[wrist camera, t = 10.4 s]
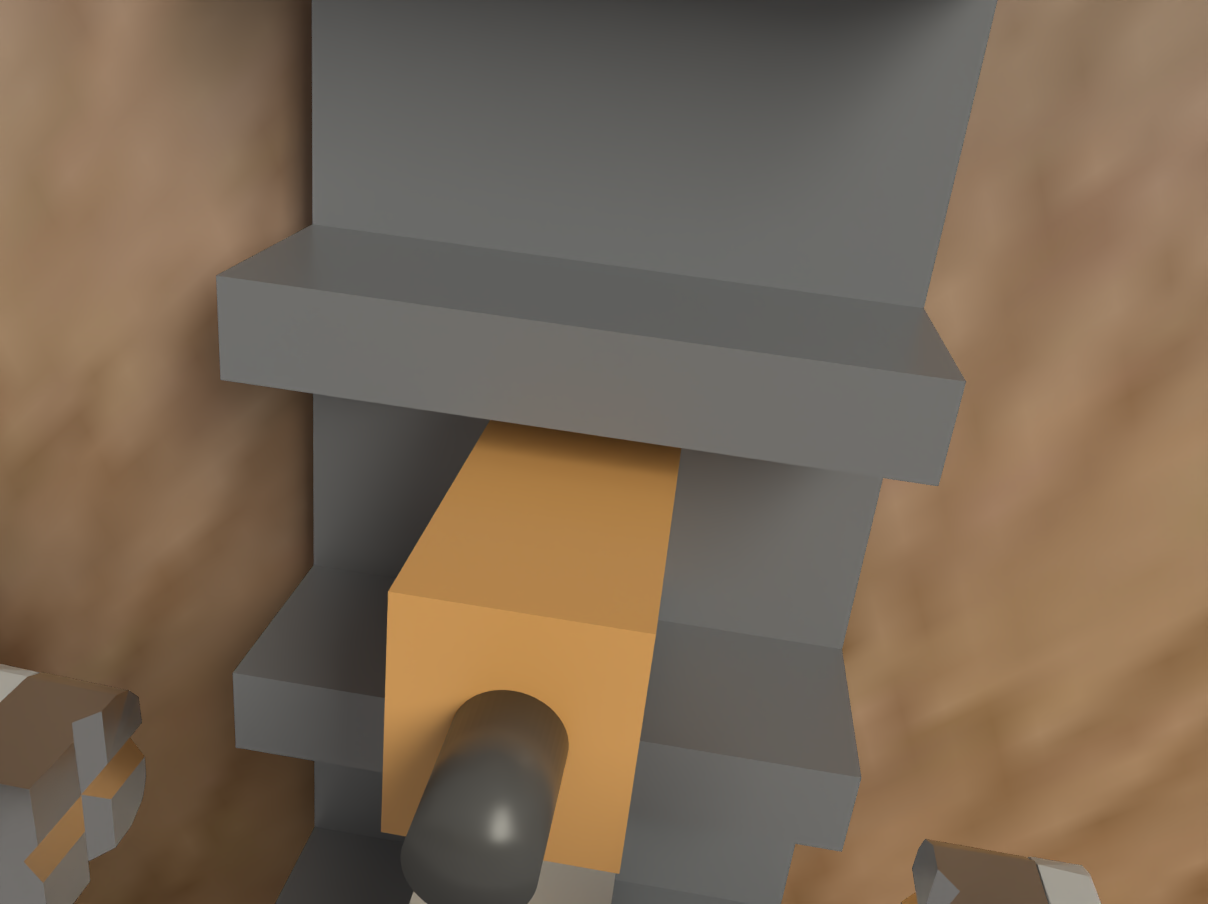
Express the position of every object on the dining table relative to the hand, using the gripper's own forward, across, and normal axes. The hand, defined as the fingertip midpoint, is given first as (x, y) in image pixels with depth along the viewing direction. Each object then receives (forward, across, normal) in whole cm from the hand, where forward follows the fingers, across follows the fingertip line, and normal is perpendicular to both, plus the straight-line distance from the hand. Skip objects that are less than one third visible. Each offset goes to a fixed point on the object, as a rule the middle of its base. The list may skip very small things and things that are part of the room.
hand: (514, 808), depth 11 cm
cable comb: (+9, 0, 0) cm, 9 cm away
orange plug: (+8, 0, 0) cm, 8 cm away
